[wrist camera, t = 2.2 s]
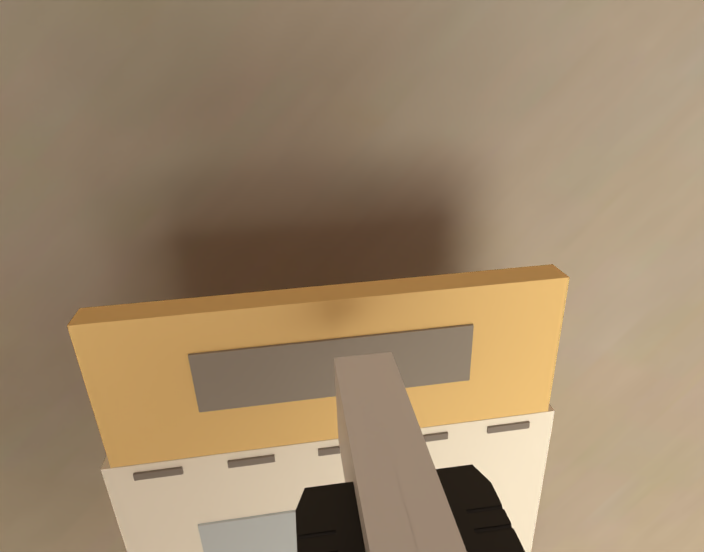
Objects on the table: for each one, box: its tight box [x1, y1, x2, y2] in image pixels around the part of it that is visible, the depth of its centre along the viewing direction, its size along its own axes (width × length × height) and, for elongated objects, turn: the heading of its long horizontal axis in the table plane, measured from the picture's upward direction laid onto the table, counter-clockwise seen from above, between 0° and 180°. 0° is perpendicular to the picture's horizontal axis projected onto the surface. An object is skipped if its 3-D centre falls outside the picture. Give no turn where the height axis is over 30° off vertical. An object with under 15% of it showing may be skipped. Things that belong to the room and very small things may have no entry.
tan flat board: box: [67, 264, 570, 468], centre depth 19 cm, size 17×6×1 cm, turn 92°
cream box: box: [101, 404, 555, 552], centre depth 27 cm, size 18×10×10 cm, turn 92°
